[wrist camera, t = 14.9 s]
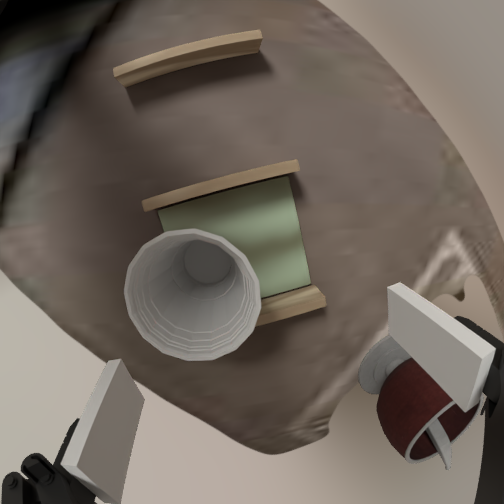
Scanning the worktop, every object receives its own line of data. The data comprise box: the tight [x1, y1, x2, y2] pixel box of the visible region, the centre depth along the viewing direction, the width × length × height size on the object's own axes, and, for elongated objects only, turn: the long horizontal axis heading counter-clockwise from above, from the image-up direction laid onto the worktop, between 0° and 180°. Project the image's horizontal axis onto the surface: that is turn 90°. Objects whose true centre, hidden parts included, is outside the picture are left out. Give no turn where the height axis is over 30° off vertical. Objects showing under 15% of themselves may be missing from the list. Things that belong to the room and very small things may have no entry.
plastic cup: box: [124, 228, 261, 361], centre depth 27 cm, size 11×11×12 cm
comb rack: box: [113, 30, 326, 327], centre depth 29 cm, size 32×16×4 cm, turn 14°
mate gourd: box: [358, 335, 484, 470], centre depth 31 cm, size 16×14×20 cm
